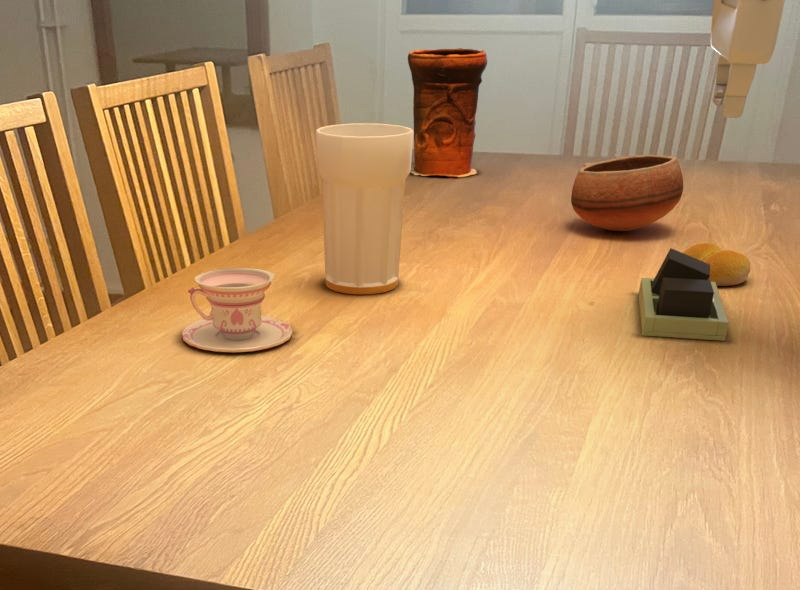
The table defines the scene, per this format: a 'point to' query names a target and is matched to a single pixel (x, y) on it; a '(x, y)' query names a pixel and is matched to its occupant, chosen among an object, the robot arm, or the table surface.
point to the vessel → (445, 109)
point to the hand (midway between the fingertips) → (725, 110)
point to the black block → (685, 298)
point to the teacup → (235, 312)
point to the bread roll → (721, 263)
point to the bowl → (627, 191)
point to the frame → (681, 318)
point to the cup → (363, 203)
